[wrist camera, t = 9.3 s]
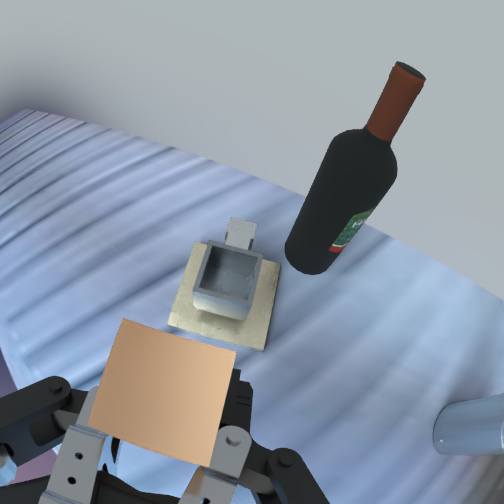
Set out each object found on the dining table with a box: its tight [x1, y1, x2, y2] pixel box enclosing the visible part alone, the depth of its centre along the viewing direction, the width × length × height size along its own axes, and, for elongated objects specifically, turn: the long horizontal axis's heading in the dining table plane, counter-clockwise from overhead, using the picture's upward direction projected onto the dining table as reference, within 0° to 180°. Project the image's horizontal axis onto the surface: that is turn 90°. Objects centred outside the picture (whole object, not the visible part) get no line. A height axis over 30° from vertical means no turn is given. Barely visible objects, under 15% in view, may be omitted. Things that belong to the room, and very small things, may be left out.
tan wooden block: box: [88, 318, 236, 467], centre depth 11 cm, size 3×3×12 cm
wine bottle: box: [285, 61, 426, 275], centre depth 29 cm, size 8×8×30 cm
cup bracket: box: [167, 217, 281, 352], centre depth 33 cm, size 12×12×10 cm
